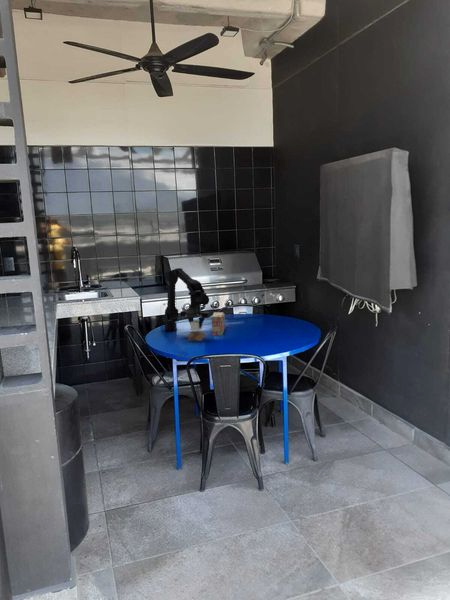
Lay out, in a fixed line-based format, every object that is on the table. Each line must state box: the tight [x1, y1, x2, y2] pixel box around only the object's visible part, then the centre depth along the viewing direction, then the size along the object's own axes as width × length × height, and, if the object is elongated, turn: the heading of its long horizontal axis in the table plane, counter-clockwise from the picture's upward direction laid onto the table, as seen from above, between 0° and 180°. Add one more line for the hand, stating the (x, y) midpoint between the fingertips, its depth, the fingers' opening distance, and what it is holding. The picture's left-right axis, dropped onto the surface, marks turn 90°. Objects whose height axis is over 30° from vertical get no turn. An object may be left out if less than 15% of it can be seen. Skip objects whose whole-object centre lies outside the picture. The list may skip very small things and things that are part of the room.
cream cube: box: [189, 319, 203, 331], centre depth 274 cm, size 5×5×5 cm
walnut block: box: [187, 330, 206, 342], centre depth 275 cm, size 8×8×4 cm
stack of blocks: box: [211, 311, 226, 336], centre depth 291 cm, size 21×6×12 cm, turn 175°
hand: (196, 327), depth 274 cm, fingers closed on cream cube, 5 cm apart
